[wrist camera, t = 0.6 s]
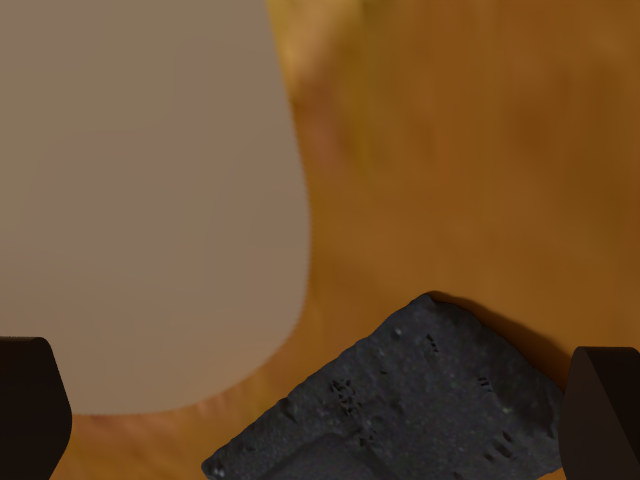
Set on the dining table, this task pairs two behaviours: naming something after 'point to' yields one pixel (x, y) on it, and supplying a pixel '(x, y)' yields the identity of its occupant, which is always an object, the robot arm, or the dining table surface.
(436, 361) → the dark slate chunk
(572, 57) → the dining table surface
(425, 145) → the dining table surface
